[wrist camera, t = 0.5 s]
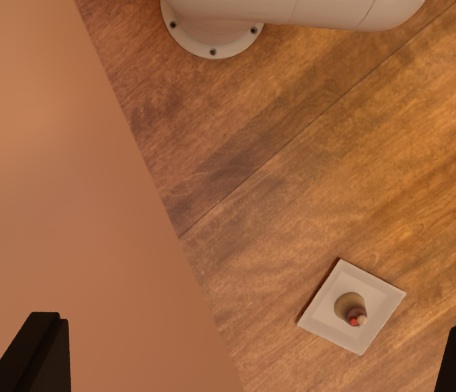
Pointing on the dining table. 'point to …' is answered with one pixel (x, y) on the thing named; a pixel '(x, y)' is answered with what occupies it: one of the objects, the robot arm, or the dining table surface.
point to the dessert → (351, 308)
